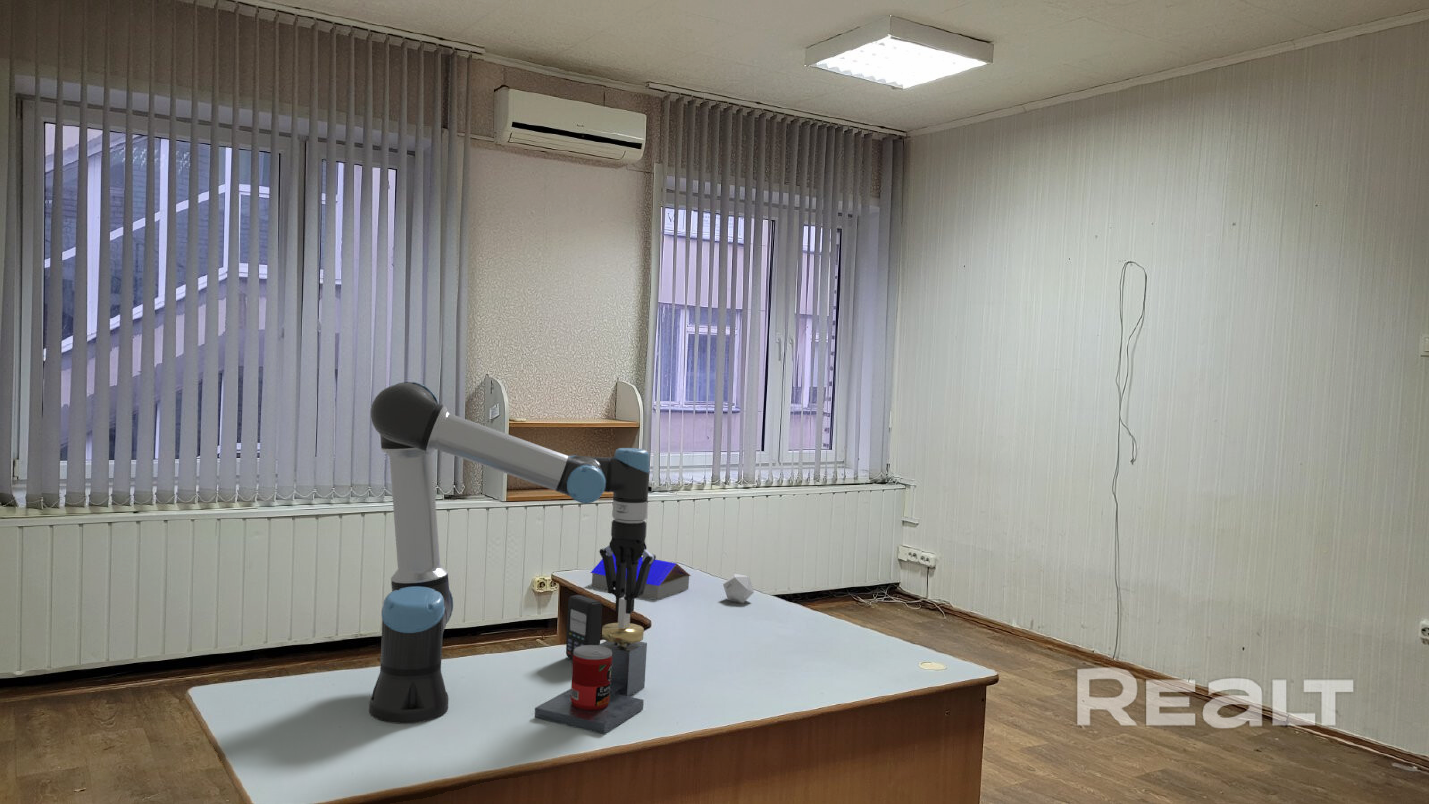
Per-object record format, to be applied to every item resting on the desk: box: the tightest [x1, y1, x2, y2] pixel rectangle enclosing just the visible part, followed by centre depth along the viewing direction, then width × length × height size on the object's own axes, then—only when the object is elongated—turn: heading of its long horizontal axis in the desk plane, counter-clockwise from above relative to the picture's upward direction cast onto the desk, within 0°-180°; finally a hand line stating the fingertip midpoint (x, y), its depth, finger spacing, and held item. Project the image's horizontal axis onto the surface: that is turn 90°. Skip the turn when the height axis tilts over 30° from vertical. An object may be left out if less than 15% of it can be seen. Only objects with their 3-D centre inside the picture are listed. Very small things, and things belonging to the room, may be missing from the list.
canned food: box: [570, 645, 612, 710], centre depth 207 cm, size 8×8×11 cm
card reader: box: [565, 594, 603, 661], centre depth 240 cm, size 9×4×15 cm, turn 45°
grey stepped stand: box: [534, 640, 648, 735], centre depth 213 cm, size 16×28×10 cm, turn 156°
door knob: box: [601, 622, 645, 647], centre depth 222 cm, size 9×9×10 cm
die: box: [722, 573, 755, 604], centre depth 307 cm, size 8×9×10 cm
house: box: [590, 554, 692, 601], centre depth 316 cm, size 19×25×10 cm
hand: (623, 627), depth 222 cm, fingers closed
